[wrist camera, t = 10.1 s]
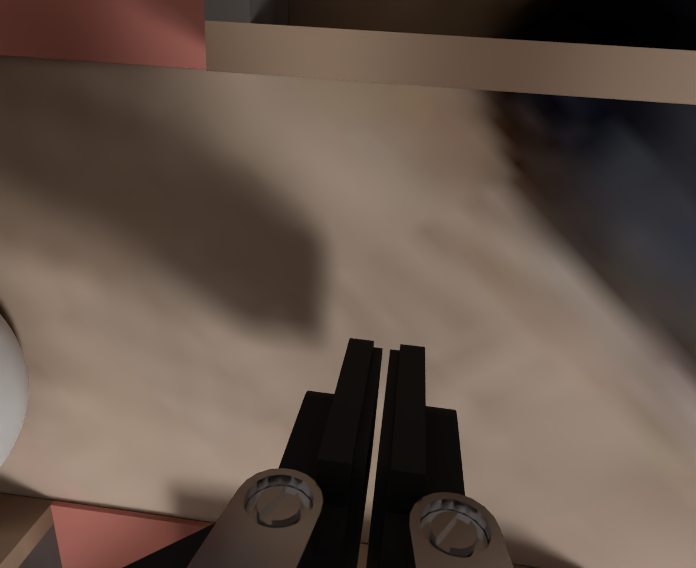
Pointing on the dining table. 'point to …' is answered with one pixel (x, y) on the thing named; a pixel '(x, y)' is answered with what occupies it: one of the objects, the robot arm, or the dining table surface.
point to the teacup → (11, 389)
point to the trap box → (296, 61)
